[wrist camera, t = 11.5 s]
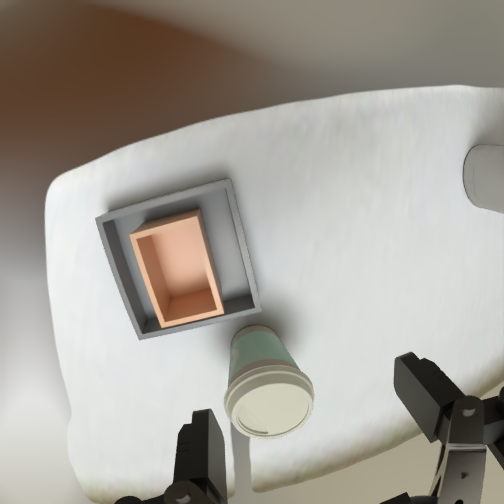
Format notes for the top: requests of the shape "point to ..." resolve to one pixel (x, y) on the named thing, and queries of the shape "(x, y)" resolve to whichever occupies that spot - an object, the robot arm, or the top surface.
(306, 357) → the top surface
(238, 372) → the coffee cup
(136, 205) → the big crate
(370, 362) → the top surface
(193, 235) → the small crate
